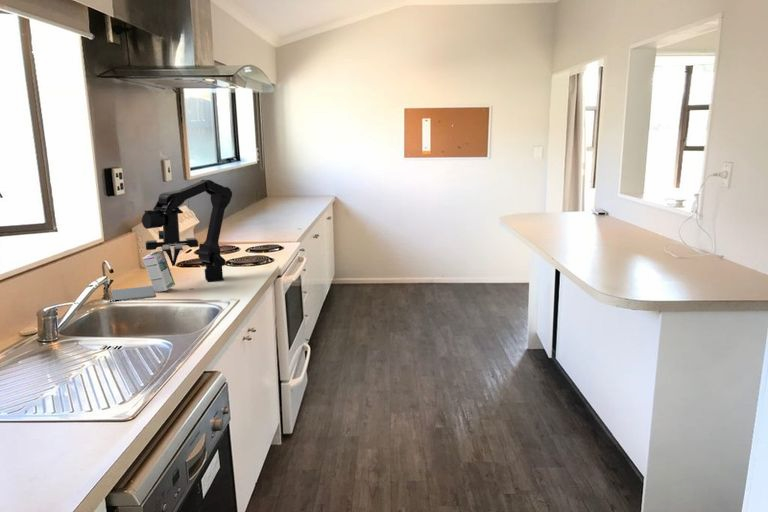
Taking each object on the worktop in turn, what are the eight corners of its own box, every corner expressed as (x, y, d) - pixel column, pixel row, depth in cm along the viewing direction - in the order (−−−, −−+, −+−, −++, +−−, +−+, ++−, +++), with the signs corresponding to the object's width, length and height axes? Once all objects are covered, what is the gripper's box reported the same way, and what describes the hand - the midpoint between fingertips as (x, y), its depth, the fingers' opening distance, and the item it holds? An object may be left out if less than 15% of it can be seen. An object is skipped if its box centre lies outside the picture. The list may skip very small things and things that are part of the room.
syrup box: (167, 290, 212) (155, 255, 208) (154, 292, 214) (141, 257, 210) (175, 285, 218) (163, 250, 214) (162, 287, 219) (150, 252, 215)
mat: (153, 287, 221) (153, 285, 221) (155, 297, 207) (155, 295, 207) (108, 291, 215) (108, 290, 215) (107, 302, 201) (107, 300, 201)
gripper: (194, 222, 223) (196, 260, 226) (143, 224, 216) (146, 263, 219) (197, 225, 213) (199, 265, 216) (144, 228, 206) (147, 269, 209)
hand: (173, 265), depth 215 cm, fingers closed
